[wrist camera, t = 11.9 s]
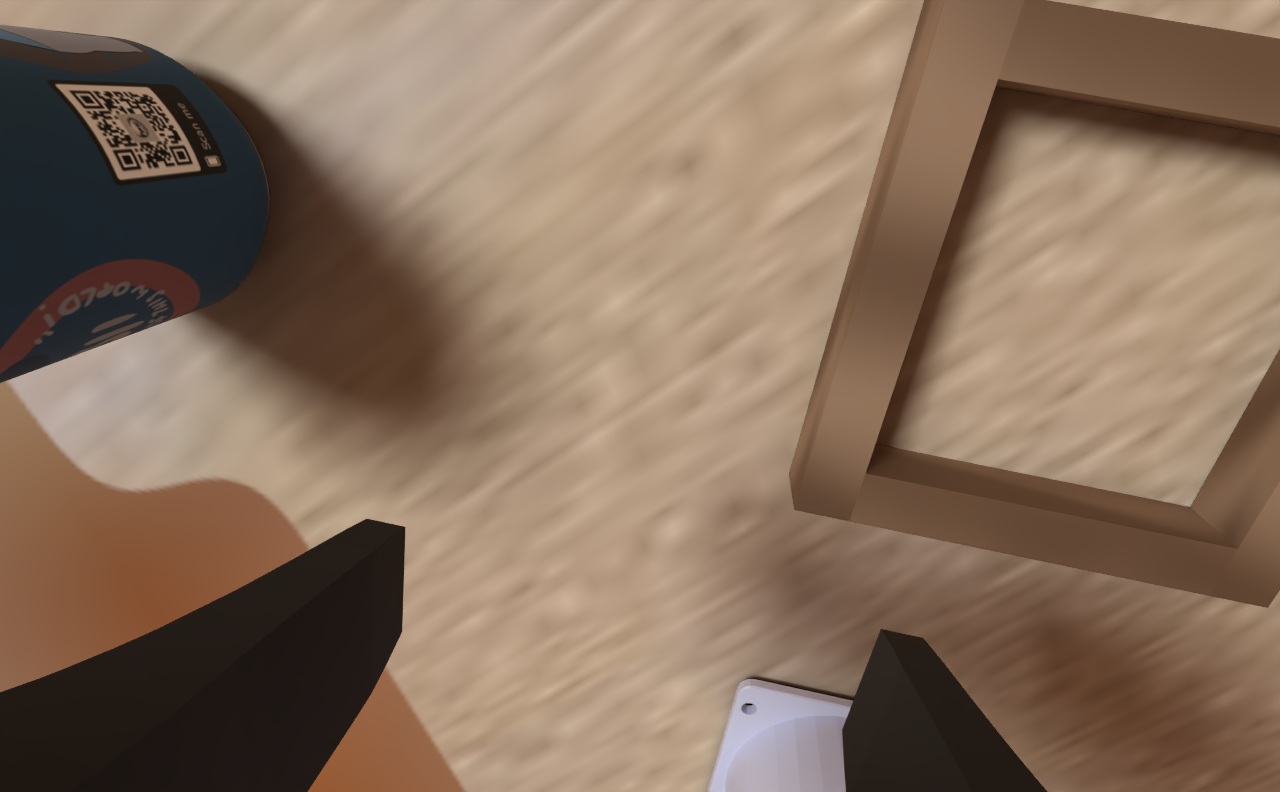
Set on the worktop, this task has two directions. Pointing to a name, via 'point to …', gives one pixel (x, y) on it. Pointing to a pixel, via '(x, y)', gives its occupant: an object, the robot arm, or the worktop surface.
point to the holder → (905, 260)
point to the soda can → (114, 194)
